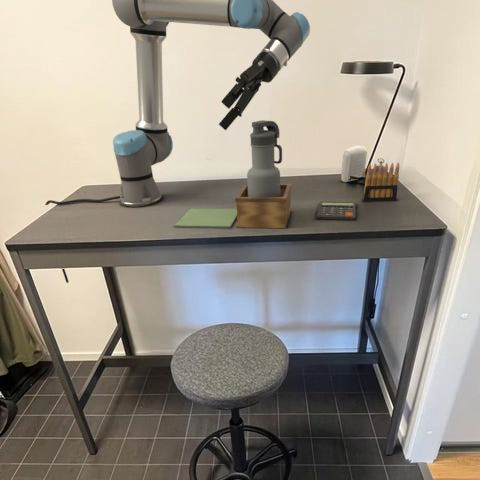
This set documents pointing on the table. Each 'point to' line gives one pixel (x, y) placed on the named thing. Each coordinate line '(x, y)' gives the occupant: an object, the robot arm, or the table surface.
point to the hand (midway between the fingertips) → (223, 116)
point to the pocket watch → (378, 169)
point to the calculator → (336, 210)
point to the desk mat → (208, 218)
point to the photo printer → (353, 162)
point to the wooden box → (264, 209)
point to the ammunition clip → (381, 184)
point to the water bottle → (264, 161)
